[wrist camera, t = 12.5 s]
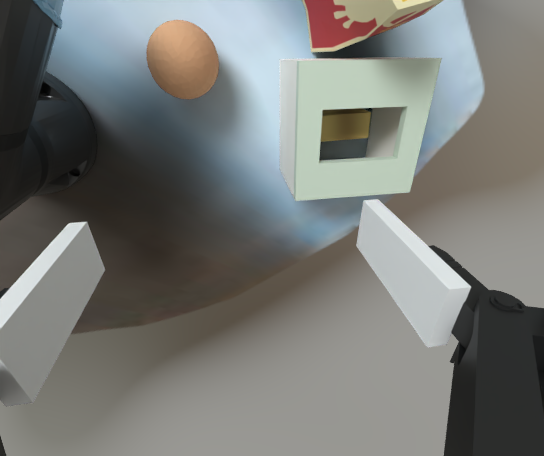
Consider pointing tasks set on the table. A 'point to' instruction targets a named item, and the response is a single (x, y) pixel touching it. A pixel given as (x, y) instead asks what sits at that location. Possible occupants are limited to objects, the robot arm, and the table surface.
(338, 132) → the cardboard box
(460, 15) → the table surface
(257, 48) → the table surface
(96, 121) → the table surface
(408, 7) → the milk carton
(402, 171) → the coin box
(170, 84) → the egg
